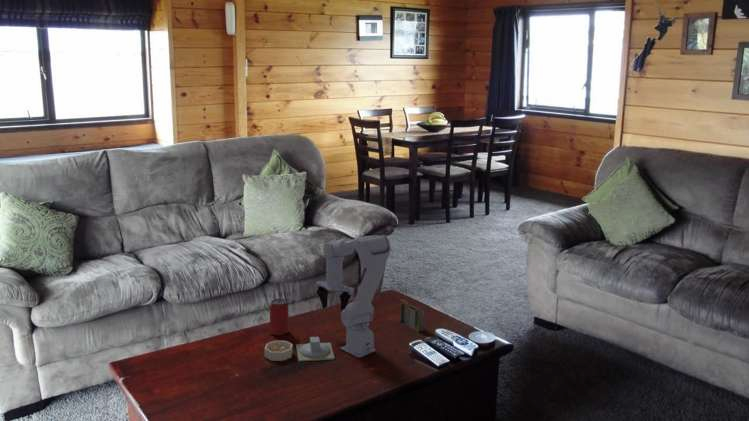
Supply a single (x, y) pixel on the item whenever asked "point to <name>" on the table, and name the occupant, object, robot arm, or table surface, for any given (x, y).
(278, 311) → the beer can
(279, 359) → the bowl
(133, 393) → the table surface
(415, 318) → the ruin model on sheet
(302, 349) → the lid
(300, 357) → the mat
